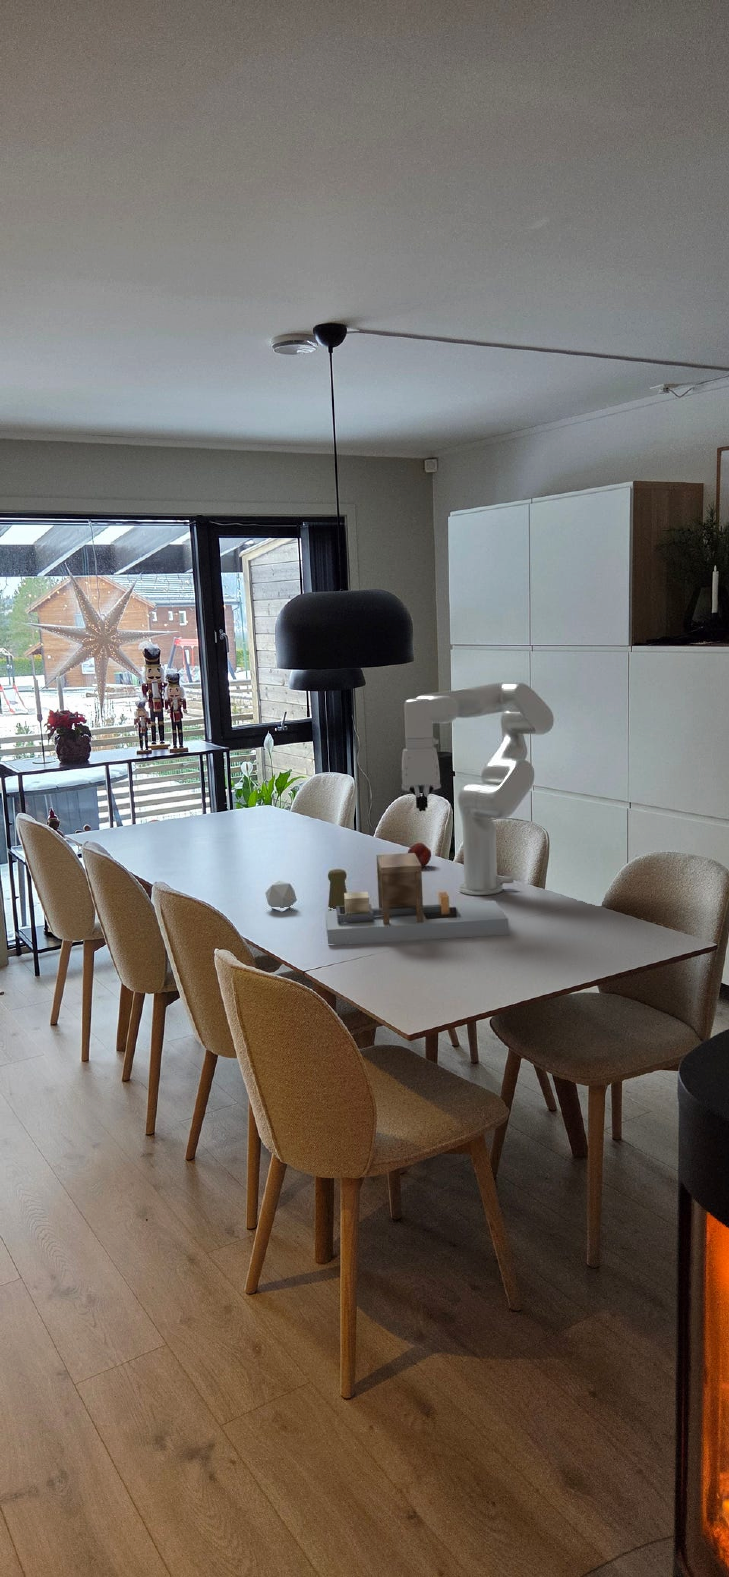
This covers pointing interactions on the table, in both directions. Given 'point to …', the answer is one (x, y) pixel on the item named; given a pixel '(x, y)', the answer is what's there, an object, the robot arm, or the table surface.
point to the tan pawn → (337, 888)
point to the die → (281, 895)
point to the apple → (421, 853)
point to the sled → (393, 910)
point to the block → (356, 902)
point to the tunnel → (399, 883)
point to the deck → (422, 925)
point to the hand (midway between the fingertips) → (422, 810)
